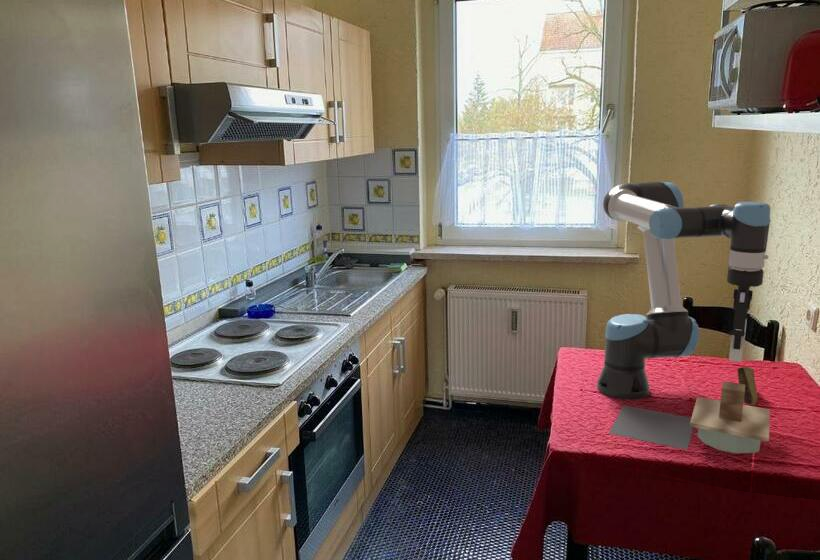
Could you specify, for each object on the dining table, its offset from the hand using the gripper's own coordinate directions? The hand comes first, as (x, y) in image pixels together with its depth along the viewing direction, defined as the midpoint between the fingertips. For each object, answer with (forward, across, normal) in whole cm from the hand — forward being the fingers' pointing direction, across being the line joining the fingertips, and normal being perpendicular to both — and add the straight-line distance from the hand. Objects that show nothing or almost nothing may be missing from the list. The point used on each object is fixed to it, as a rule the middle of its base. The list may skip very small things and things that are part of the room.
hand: (736, 351), depth 151 cm
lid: (+18, 0, 0) cm, 18 cm away
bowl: (+24, 0, 0) cm, 24 cm away
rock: (+25, +32, -4) cm, 40 cm away
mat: (+24, -1, +18) cm, 30 cm away
